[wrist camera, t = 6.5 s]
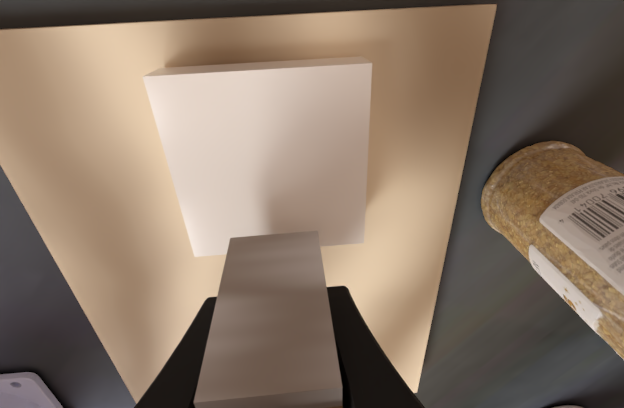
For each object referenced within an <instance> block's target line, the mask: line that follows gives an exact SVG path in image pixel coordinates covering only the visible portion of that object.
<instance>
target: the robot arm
mask: <svg viewBox="0 0 624 408" xmlns="http://www.w3.org/2000/svg"><path fill="white" fill-rule="evenodd" d="M327 293H328V299H329V306H330V312H331V318H332V325H333V331H334V337H335V344H336V350H337V356H338V362H339V369H340V375H341V381H342V406H343V408H425V407H424V406H423V405H422V403H421V402H420V401H419V400H418V398H417V397H416V396H415V395H414V393H413V392H412V391H411V389H410V388H409V387H408V385H407V384H406V383H405V381H404V380H403V378H402V377H401V376H400V374H399V373H398V372H397V370H396V369H395V367H394V366H393V365H392V363H391V362H390V360H389V359H388V357H387V356H386V354H385V353H384V351H383V350H382V348H381V347H380V345H379V344H378V342H377V340H376V339H375V337H374V336H373V334H372V333H371V331H370V329H369V328H368V326H367V324H366V323H365V321H364V319H363V317H362V316H361V314H360V312H359V310H358V308H357V306H356V304H355V302H354V300H353V298H352V296H351V294H350V292H349V289H348V288H347V287H346V286H333V287H327ZM216 300H217V297H208V298H207V299H206V300H205V301H204V303H203V305H202V306H201V308H200V310H199V311H198V313H197V315H196V317H195V318H194V320H193V322H192V323H191V325H190V326H189V328H188V330H187V331H186V333H185V335H184V336H183V338H182V339H181V341H180V342H179V344H178V346H177V347H176V349H175V350H174V352H173V353H172V355H171V356H170V358H169V359H168V361H167V362H166V364H165V365H164V367H163V368H162V370H161V371H160V372H159V374H158V375H157V377H156V378H155V380H154V381H153V382H152V384H151V385H150V386H149V388H148V389H147V391H146V392H145V393H144V395H143V396H142V397H141V399H140V400H139V402H138V403H137V404H136V406H135V407H134V408H195V405H194V398H195V394H196V389H197V385H198V380H199V376H200V371H201V367H202V362H203V358H204V354H205V349H206V345H207V340H208V336H209V331H210V327H211V322H212V318H213V313H214V309H215V304H216ZM0 408H63V407H62V405H61V404H60V403H59V401H58V400H57V399H56V398H55V396H54V395H53V394H52V392H51V391H50V390H49V389H48V387H47V386H46V385H45V383H44V382H43V381H42V380H41V378H40V377H39V376H38V375H37V374H35V373H32V372H20V373H10V374H0Z"/></svg>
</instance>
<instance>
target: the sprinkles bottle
mask: <svg viewBox="0 0 624 408" xmlns="http://www.w3.org/2000/svg"><path fill="white" fill-rule="evenodd" d="M481 208H482V210H483V215H484V217H485V220H486V221H487V223H488V224H489V225H490V226H491V227H492V228H493V229H494V230H496V231H497V232H499V233H501V234H503V235H504V236H505V237H506V238H507V239H508V240H509V241H510V242H511V243H512V244H513V245H514V246H515V248H516V249H517V250H518V251H519V252H520V253H522V254H523V255H524V257H525V258H526V259H527V260H528V261H529V262H530V263H531V265H532V266H533V268H534V269H535V270H536V272H537V273H538V274H539V275H540V276H541V277H542V278H543V279H544V280H545V281H546V282H547V283H548V284H549V285H550V286H551V287H552V288H553V289H554V290H555V291H556V292H557V293H558V294H559V295H560V296H561V297H562V298H563V299H564V300H565V301H566V302H567V303H568V304H569V305H570V306H571V307H572V308H573V309H574V311H575V312H576V313H577V314H578V315H579V316H580V317H581V318H582V319H583V320H584V321H585V322H586V323H587V324H588V325H589V326H590V327H591V328H592V329H593V330H594V331H595V332H596V333H597V334H598V335H600V336H601V337H602V338H603V339H604V340H605V341H606V342H607V343H608V344H609V345H610V346H611V347H612V348H613V349H614V350H615V351H616V352H617V354H618V355H619V356H620V357H621V358H623V359H624V174H622V173H620V172H618V171H615V170H614V169H612V168H610V167H608V166H605V165H604V164H602V163H600V162H598V161H595V160H593V159H591V158H589V157H587V156H585V154H584V153H583V152H582V151H581V150H580V149H579V148H577V147H575V146H573V145H571V144H568V143H564V142H560V141H548V142H540V143H536V144H534V145H532V146H527V147H525V148H523V149H521V150H519V151H518V152H516V153H514V154H513V155H511V156H509V157H508V158H507V159H505V160H504V161H503V162H502V163H501V164H500V165H499V166H498V167H497V168H496V169H495V170H494V172H493V173H492V175H491V176H490V178H489V179H488V181H487V182H486V184H485V186H484V188H483V190H482V198H481Z"/></svg>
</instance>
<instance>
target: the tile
mask: <svg viewBox="0 0 624 408" xmlns="http://www.w3.org/2000/svg"><path fill="white" fill-rule="evenodd" d="M371 78H372V63H371V62H370V61H368V60H367V59H365V58H363V57H362V56H359V57H341V58H324V59H307V60H289V61H272V62H255V63H237V64H220V65H203V66H186V67H168V68H159V69H157V70H155V71H153V72H151V73H149V74H147V75H145V76H143V80H144V84H145V87H146V91H147V94H148V97H149V101H150V104H151V108H152V111H153V115H154V118H155V122H156V125H157V129H158V132H159V136H160V139H161V142H162V146H163V149H164V153H165V156H166V160H167V163H168V167H169V170H170V174H171V177H172V181H173V184H174V187H175V191H176V194H177V198H178V201H179V205H180V208H181V212H182V215H183V219H184V222H185V226H186V229H187V233H188V236H189V239H190V243H191V246H192V250H193V253H194V257H200V256H212V255H225V254H227V251H228V246H229V242H230V238H234V237H246V236H258V235H270V234H283V233H295V232H307V231H318V236H319V243H320V247H323V246H335V245H348V244H360V243H364V232H365V210H366V188H367V166H368V144H369V122H370V100H371Z"/></svg>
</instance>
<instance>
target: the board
mask: <svg viewBox="0 0 624 408" xmlns="http://www.w3.org/2000/svg"><path fill="white" fill-rule="evenodd" d="M496 8H497V4H474V5H455V6H436V7H416V8H397V9H378V10H359V11H340V12H320V13H301V14H282V15H263V16H243V17H224V18H205V19H186V20H167V21H147V22H128V23H109V24H90V25H71V26H51V27H32V28H13V29H0V165H1V167H2V168H3V170H4V172H5V174H6V175H7V177H8V179H9V181H10V183H11V184H12V186H13V188H14V190H15V191H16V193H17V195H18V197H19V198H20V200H21V202H22V204H23V205H24V207H25V209H26V211H27V212H28V214H29V216H30V218H31V219H32V221H33V223H34V225H35V226H36V228H37V230H38V232H39V233H40V235H41V237H42V239H43V240H44V242H45V244H46V246H47V248H48V249H49V251H50V253H51V255H52V256H53V258H54V260H55V262H56V263H57V265H58V267H59V269H60V270H61V272H62V274H63V276H64V277H65V279H66V281H67V283H68V284H69V286H70V288H71V290H72V291H73V293H74V295H75V297H76V298H77V300H78V302H79V304H80V305H81V307H82V309H83V311H84V313H85V314H86V316H87V318H88V320H89V321H90V323H91V325H92V327H93V328H94V330H95V332H96V334H97V335H98V337H99V339H100V341H101V342H102V344H103V346H104V348H105V349H106V351H107V353H108V355H109V356H110V358H111V360H112V362H113V363H114V365H115V367H116V369H117V370H118V372H119V374H120V376H121V378H122V379H123V381H124V383H125V385H126V386H127V388H128V390H129V392H130V393H131V395H132V397H133V399H134V400H135V402H136V404H137V403H138V402H139V400H140V399H141V397H142V396H143V395H144V393H145V392H146V391H147V389H148V388H149V386H150V385H151V384H152V382H153V381H154V380H155V378H156V377H157V375H158V374H159V372H160V371H161V370H162V368H163V367H164V365H165V364H166V362H167V361H168V359H169V358H170V356H171V355H172V353H173V352H174V350H175V349H176V347H177V346H178V344H179V342H180V341H181V339H182V338H183V336H184V335H185V333H186V331H187V330H188V328H189V326H190V325H191V323H192V322H193V320H194V318H195V317H196V315H197V313H198V311H199V310H200V308H201V306H202V305H203V303H204V301H205V300H206V299H207V298H208V297H217V295H218V291H219V286H220V282H221V277H222V273H223V268H224V264H225V259H226V255H227V254H225V255H212V256H200V257H194V253H193V250H192V246H191V243H190V239H189V236H188V233H187V229H186V226H185V222H184V219H183V215H182V212H181V208H180V205H179V201H178V198H177V194H176V191H175V187H174V184H173V181H172V177H171V174H170V170H169V167H168V163H167V160H166V156H165V153H164V149H163V146H162V142H161V139H160V136H159V132H158V129H157V125H156V122H155V118H154V115H153V111H152V108H151V104H150V101H149V97H148V94H147V91H146V87H145V84H144V80H143V76H145V75H147V74H149V73H151V72H153V71H155V70H157V69H159V68H168V67H186V66H203V65H220V64H237V63H255V62H272V61H289V60H307V59H324V58H341V57H359V56H362V57H363V58H365V59H367V60H368V61H370V62H371V63H372V78H371V100H370V122H369V144H368V166H367V188H366V210H365V232H364V243H360V244H348V245H335V246H323V247H320V249H321V255H322V262H323V268H324V274H325V280H326V287H333V286H346V287H347V288H348V289H349V292H350V294H351V296H352V298H353V300H354V302H355V304H356V306H357V308H358V310H359V312H360V314H361V316H362V317H363V319H364V321H365V323H366V324H367V326H368V328H369V329H370V331H371V333H372V334H373V336H374V337H375V339H376V340H377V342H378V344H379V345H380V347H381V348H382V350H383V351H384V353H385V354H386V356H387V357H388V359H389V360H390V362H391V363H392V365H393V366H394V367H395V369H396V370H397V372H398V373H399V374H400V376H401V377H402V378H403V380H404V381H405V383H406V384H407V385H408V387H409V388H410V389H411V391H412V392H413V393H417V390H418V385H419V380H420V375H421V370H422V366H423V361H424V356H425V351H426V346H427V341H428V337H429V332H430V327H431V322H432V317H433V312H434V307H435V303H436V298H437V293H438V288H439V283H440V278H441V274H442V269H443V264H444V259H445V254H446V249H447V245H448V240H449V235H450V230H451V225H452V220H453V216H454V211H455V206H456V201H457V196H458V191H459V187H460V182H461V177H462V172H463V167H464V162H465V158H466V153H467V148H468V143H469V138H470V133H471V129H472V124H473V119H474V114H475V109H476V104H477V100H478V95H479V90H480V85H481V80H482V75H483V71H484V66H485V61H486V56H487V51H488V46H489V42H490V37H491V32H492V27H493V22H494V17H495V13H496Z"/></svg>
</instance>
